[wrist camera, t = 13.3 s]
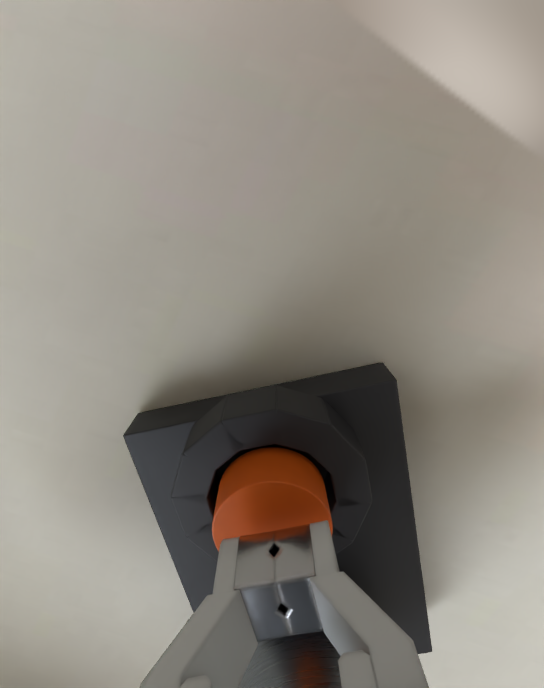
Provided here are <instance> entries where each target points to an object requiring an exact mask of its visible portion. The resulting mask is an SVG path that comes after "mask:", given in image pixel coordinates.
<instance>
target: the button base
mask: <svg viewBox="0 0 544 688" xmlns="http://www.w3.org/2000/svg"><path fill="white" fill-rule="evenodd" d="M123 437H124V439H125V442H126V444H127V447H128V449H129V452H130V454H131V457H132V459H133V462H134V464H135V467H136V469H137V472H138V474H139V477H140V479H141V482H142V484H143V487H144V489H145V492H146V494H147V497H148V499H149V502H150V504H151V507H152V509H153V512H154V514H155V517H156V519H157V522H158V524H159V527H160V529H161V532H162V534H163V537H164V539H165V542H166V544H167V547H168V549H169V552H170V555H171V557H172V560H173V562H174V565H175V567H176V570H177V572H178V575H179V577H180V580H181V582H182V585H183V587H184V590H185V592H186V595H187V597H188V600H189V602H190V605H191V607H192V610H193V612H195V611H196V609H197V608H198V607H199V605H200V604H201V603H202V601H203V600H204V599H205V597H206V596H207V595H211V594H213V588H214V581H215V575H216V568H217V562H218V555H219V551H218V549H217V548H216V545H215V543H214V540H213V536H212V522H213V517H214V511H215V506H216V500H217V495H218V490H219V485H220V480H221V478H222V475H223V474H224V472H225V470H226V469H227V468H228V466H229V465H230V464H231V463H232V462H233V461H234V460H235V459H237V458H238V457H240V456H241V455H243V454H245V453H247V452H249V451H252V450H255V449H259V448H266V447H279V448H285V449H289V450H292V451H295V452H297V453H300V454H302V455H303V456H305V457H306V458H308V459H309V460H310V461H311V462H312V463H313V464H314V465H315V466H316V467H317V468H318V470H319V471H320V473H321V475H322V477H323V480H324V484H325V489H326V494H327V499H328V503H329V508H330V513H331V518H332V524H333V533H332V540H333V545H334V549H335V553H336V558H337V562H338V567H339V571H340V572H344V573H345V574H346V575H347V576H349V577H350V578H351V579H352V580H353V581H354V582H355V583H356V584H357V585H358V586H359V587H360V588H361V589H362V590H363V591H364V592H365V593H366V594H367V595H368V596H369V597H370V598H371V599H372V600H373V601H374V602H375V603H376V604H377V605H378V606H379V607H380V608H381V609H382V610H383V611H384V612H385V613H386V614H387V615H388V616H389V617H390V618H391V619H392V620H393V621H394V622H395V623H396V624H397V625H398V626H399V627H400V628H401V629H402V630H403V631H404V632H405V633H406V634H407V635H408V636H409V637H410V638H411V639H412V640H413V642H414V645H415V648H416V651H417V654H421V653H427V652H432V646H431V638H430V631H429V623H428V616H427V608H426V601H425V593H424V585H423V578H422V570H421V563H420V555H419V547H418V540H417V532H416V525H415V517H414V510H413V502H412V494H411V487H410V479H409V472H408V464H407V456H406V449H405V441H404V434H403V426H402V419H401V411H400V403H399V396H398V388H397V381H396V379H395V378H394V376H393V375H392V374H391V372H390V371H389V370H388V369H387V367H386V366H385V365H384V363H377V364H373V365H368V366H363V367H358V368H353V369H349V370H344V371H339V372H334V373H329V374H325V375H320V376H315V377H310V378H305V379H301V380H296V381H291V382H286V383H281V384H277V385H272V386H267V387H262V388H257V389H252V390H248V391H243V392H238V393H233V394H228V395H224V396H219V397H214V398H209V399H204V400H200V401H195V402H190V403H185V404H180V405H176V406H171V407H166V408H161V409H156V410H151V411H147V412H142V413H138V414H137V416H136V417H135V419H134V420H133V422H132V423H131V425H130V426H129V428H128V429H127V431H126V432H125V433H124V435H123Z"/></svg>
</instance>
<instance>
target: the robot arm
mask: <svg viewBox="0 0 544 688" xmlns="http://www.w3.org/2000/svg"><path fill="white" fill-rule="evenodd" d="M320 631H324V633H325V635H326V636H327V638H328V639H329V640H330V642H331V643H332V645H333V646H334V647H335V649H336V650H337V652H338V653H339V655H340V656H341V657H340V658H339V660H338V664H339V671H340V679H341V686H342V688H429V686H428V683H427V680H426V677H425V674H424V671H423V669H422V666H421V663H420V660H419V657H418V654H417V651H416V648H415V645H414V642H413V640H412V639H411V638H410V637H409V636H408V635H407V634H406V633H405V632H404V631H403V630H402V629H401V628H400V627H399V626H398V625H397V624H396V623H395V622H394V621H393V620H392V619H391V618H390V617H389V616H388V615H387V614H386V613H385V612H384V611H383V610H382V609H381V608H380V607H379V606H378V605H377V604H376V603H375V602H374V601H373V600H372V599H371V598H370V597H369V596H368V595H367V594H366V593H365V592H364V591H363V590H362V589H361V588H360V587H359V586H358V585H357V584H356V583H355V582H354V581H353V580H352V579H351V578H350V577H349V576H347V575H346V574H345V573H344V572H340V571H339V567H338V562H337V558H336V553H335V549H334V545H333V540H332V536H331V531H330V527H329V523H328V521H327V520H325V521H320V522H315V523H310V524H306V525H301V526H296V527H290V528H285V529H280V530H275V531H270V532H264V533H258V534H251V535H245V536H240V537H235V538H228V539H223V540H222V542H221V544H220V549H219V555H218V562H217V568H216V575H215V581H214V588H213V594H211V595H207V596H206V597H205V599H204V600H203V601H202V603H201V604H200V605H199V607H198V608H197V609H196V611H195V612H194V613H193V615H192V616H191V617H190V619H189V620H188V621H187V623H186V624H185V625H184V627H183V628H182V629H181V631H180V632H179V633H178V635H177V636H176V637H175V639H174V640H173V641H172V643H171V644H170V645H169V647H168V648H167V649H166V651H165V652H164V653H163V655H162V656H161V657H160V659H159V660H158V661H157V663H156V664H155V665H154V667H153V668H152V669H151V671H150V672H149V673H148V675H147V676H146V677H145V679H144V680H143V681H142V683H141V685H140V688H238V686H239V684H240V682H241V680H242V678H243V675H244V673H245V671H246V669H247V667H248V665H249V663H250V661H251V659H252V656H253V654H254V652H255V650H256V648H257V646H258V642H260V641H265V640H270V639H275V638H280V637H285V636H290V635H297V634H305V633H313V632H320Z"/></svg>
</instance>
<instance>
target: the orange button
mask: <svg viewBox="0 0 544 688" xmlns="http://www.w3.org/2000/svg"><path fill="white" fill-rule="evenodd" d="M325 520H327V521H328V523H329V527H330V531H331V536H332V533H333V524H332V518H331V513H330V508H329V503H328V499H327V494H326V489H325V484H324V480H323V477H322V475H321V473H320V471H319V470H318V468H317V467H316V466H315V465H314V464H313V463H312V462H311V461H310V460H309V459H308V458H306V457H305V456H303V455H302V454H300V453H297V452H295V451H292V450H289V449H285V448H279V447H266V448H259V449H255V450H252V451H249V452H247V453H245V454H243V455H241V456H240V457H238V458H237V459H235V460H234V461H233V462H232V463H231V464H230V465H229V466H228V468H227V469H226V470H225V472H224V474H223V475H222V478H221V480H220V485H219V490H218V495H217V500H216V506H215V511H214V517H213V522H212V536H213V540H214V543H215V545H216V548H217V549H218V551H219V549H220V544H221V542H222V540H223V539H228V538H235V537H240V536H245V535H251V534H258V533H264V532H270V531H275V530H280V529H285V528H290V527H296V526H301V525H306V524H310V523H315V522H320V521H325Z"/></svg>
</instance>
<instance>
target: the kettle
mask: <svg viewBox="0 0 544 688" xmlns="http://www.w3.org/2000/svg"><path fill="white" fill-rule="evenodd" d="M340 657H341V656H340V655H339V653H338V652H337V650H336V649H335V647H334V646H333V645H332V643H331V642H330V640H329V639H328V638H327V636H326V635H325V633H324V631H320V632H313V633H305V634H297V635H290V636H285V637H280V638H275V639H270V640H265V641H260V642H258V646H257V648H256V650H255V652H254V654H253V656H252V659H251V661H250V663H249V665H248V667H247V669H246V671H245V673H244V675H243V678H242V680H241V682H240V684H239V686H238V688H342V686H341V679H340V671H339V664H338V660H339V658H340Z"/></svg>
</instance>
